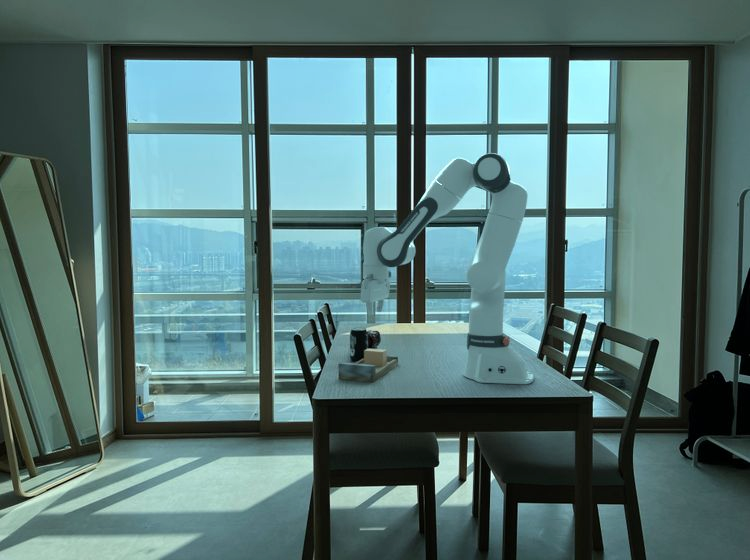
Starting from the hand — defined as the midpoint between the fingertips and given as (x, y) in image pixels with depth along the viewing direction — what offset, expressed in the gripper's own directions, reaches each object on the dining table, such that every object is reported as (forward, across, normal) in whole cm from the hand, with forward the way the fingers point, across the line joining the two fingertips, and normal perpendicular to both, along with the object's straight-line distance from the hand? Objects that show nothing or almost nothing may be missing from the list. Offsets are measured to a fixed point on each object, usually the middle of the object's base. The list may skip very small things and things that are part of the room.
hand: (375, 313), depth 182 cm
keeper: (+18, 0, 0) cm, 18 cm away
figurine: (+20, +22, +12) cm, 32 cm away
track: (+19, -6, 0) cm, 20 cm away
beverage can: (+20, +9, +10) cm, 24 cm away
